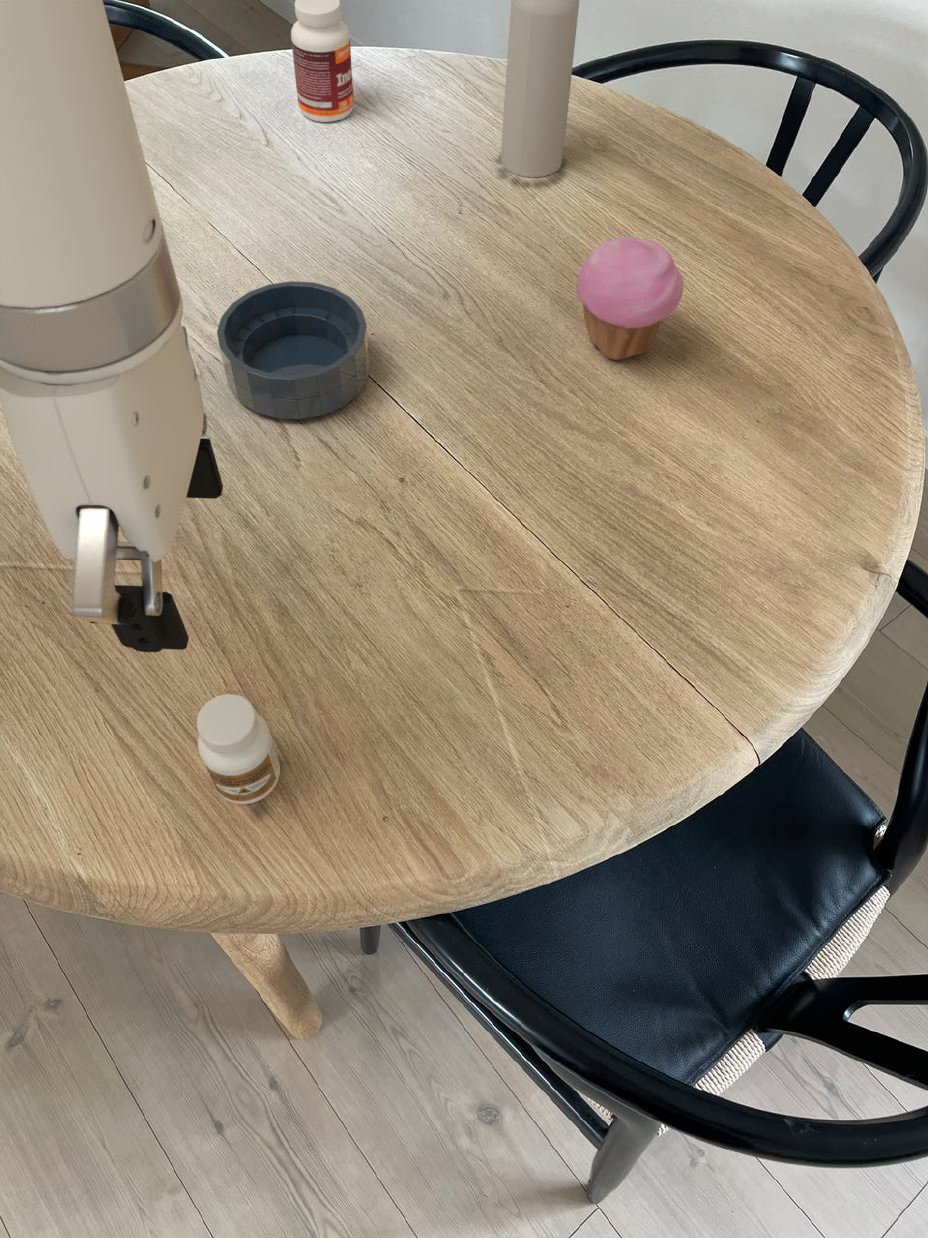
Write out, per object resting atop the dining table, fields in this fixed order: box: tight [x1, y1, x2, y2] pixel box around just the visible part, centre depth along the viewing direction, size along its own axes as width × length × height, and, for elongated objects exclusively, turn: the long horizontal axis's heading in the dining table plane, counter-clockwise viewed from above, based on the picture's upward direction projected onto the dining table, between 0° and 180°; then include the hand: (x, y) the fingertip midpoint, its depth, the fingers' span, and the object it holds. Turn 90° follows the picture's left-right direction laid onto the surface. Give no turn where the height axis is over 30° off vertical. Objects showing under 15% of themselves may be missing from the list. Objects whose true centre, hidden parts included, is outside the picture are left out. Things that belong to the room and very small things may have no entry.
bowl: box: [216, 280, 370, 420], centre depth 83 cm, size 12×12×5 cm
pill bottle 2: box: [290, 0, 355, 123], centre depth 104 cm, size 6×6×11 cm
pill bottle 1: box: [196, 693, 281, 805], centre depth 60 cm, size 4×4×8 cm
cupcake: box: [576, 236, 684, 361], centre depth 84 cm, size 9×9×10 cm
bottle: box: [500, 0, 580, 178], centre depth 93 cm, size 7×7×28 cm
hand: (176, 564), depth 50 cm, fingers open, 9 cm apart
